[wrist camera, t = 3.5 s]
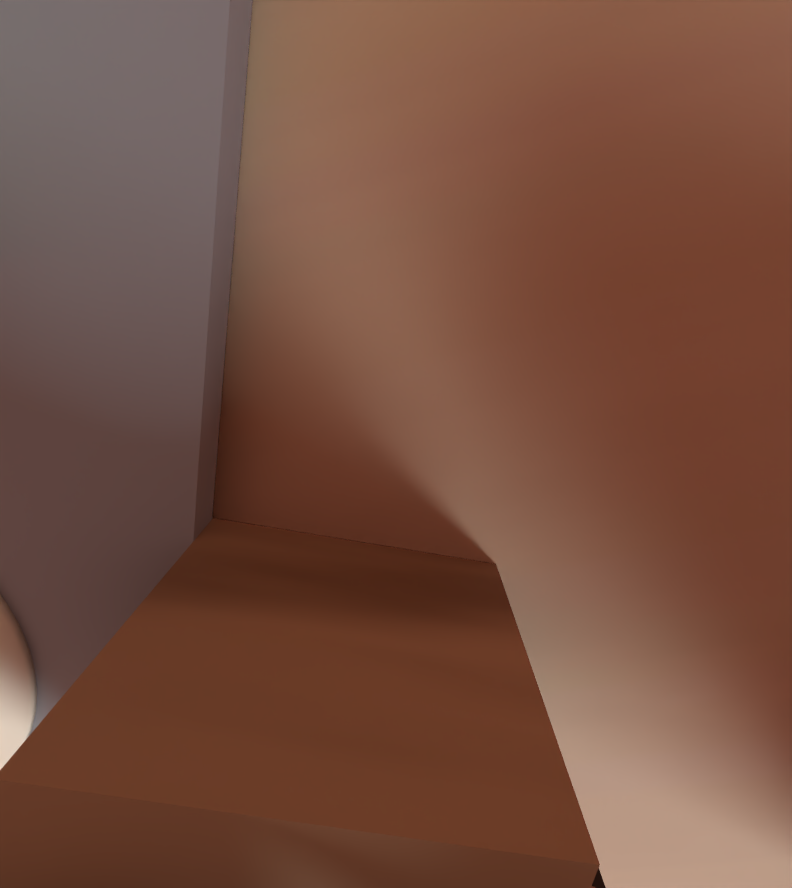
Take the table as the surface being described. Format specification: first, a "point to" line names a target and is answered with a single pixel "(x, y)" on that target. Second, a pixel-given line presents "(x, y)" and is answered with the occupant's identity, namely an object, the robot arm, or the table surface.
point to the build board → (111, 304)
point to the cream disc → (14, 685)
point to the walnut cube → (300, 733)
